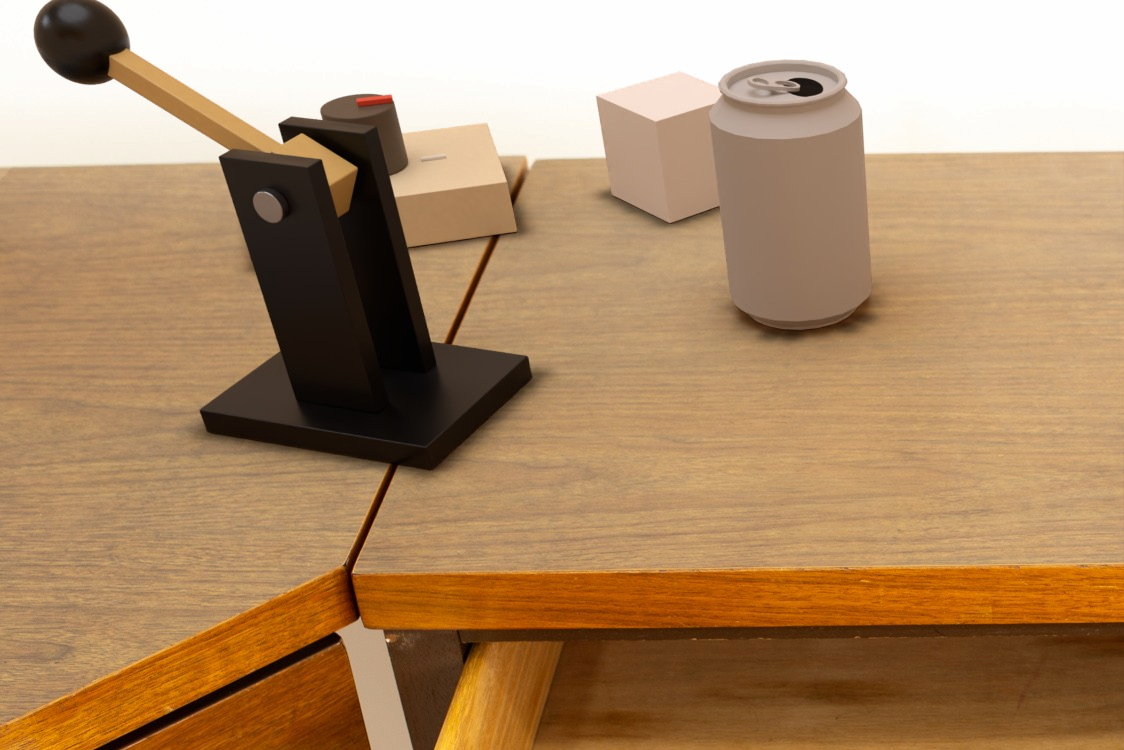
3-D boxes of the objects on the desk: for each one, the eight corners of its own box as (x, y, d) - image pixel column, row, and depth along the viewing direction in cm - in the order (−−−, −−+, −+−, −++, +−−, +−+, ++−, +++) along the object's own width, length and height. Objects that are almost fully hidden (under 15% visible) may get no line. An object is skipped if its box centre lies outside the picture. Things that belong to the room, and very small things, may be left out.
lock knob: (337, 183, 89) (319, 116, 87) (334, 158, 92) (317, 93, 90) (411, 173, 90) (395, 107, 88) (405, 149, 93) (390, 84, 91)
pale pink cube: (611, 195, 95) (595, 95, 92) (692, 168, 99) (679, 70, 95) (670, 223, 92) (655, 120, 88) (751, 194, 95) (740, 94, 92)
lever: (11, 66, 67) (14, -9, 65) (72, 40, 70) (77, -33, 68) (307, 247, 69) (321, 181, 66) (356, 215, 71) (370, 150, 69)
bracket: (206, 432, 74) (108, 164, 66) (322, 345, 80) (246, 92, 72) (432, 470, 71) (359, 196, 63) (532, 377, 78) (478, 118, 70)
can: (891, 322, 82) (880, 90, 75) (751, 347, 80) (725, 111, 73) (848, 265, 88) (833, 43, 80) (716, 287, 85) (688, 61, 78)
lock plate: (260, 268, 87) (242, 214, 85) (258, 201, 95) (242, 150, 93) (517, 231, 91) (506, 178, 89) (497, 170, 99) (486, 119, 97)
